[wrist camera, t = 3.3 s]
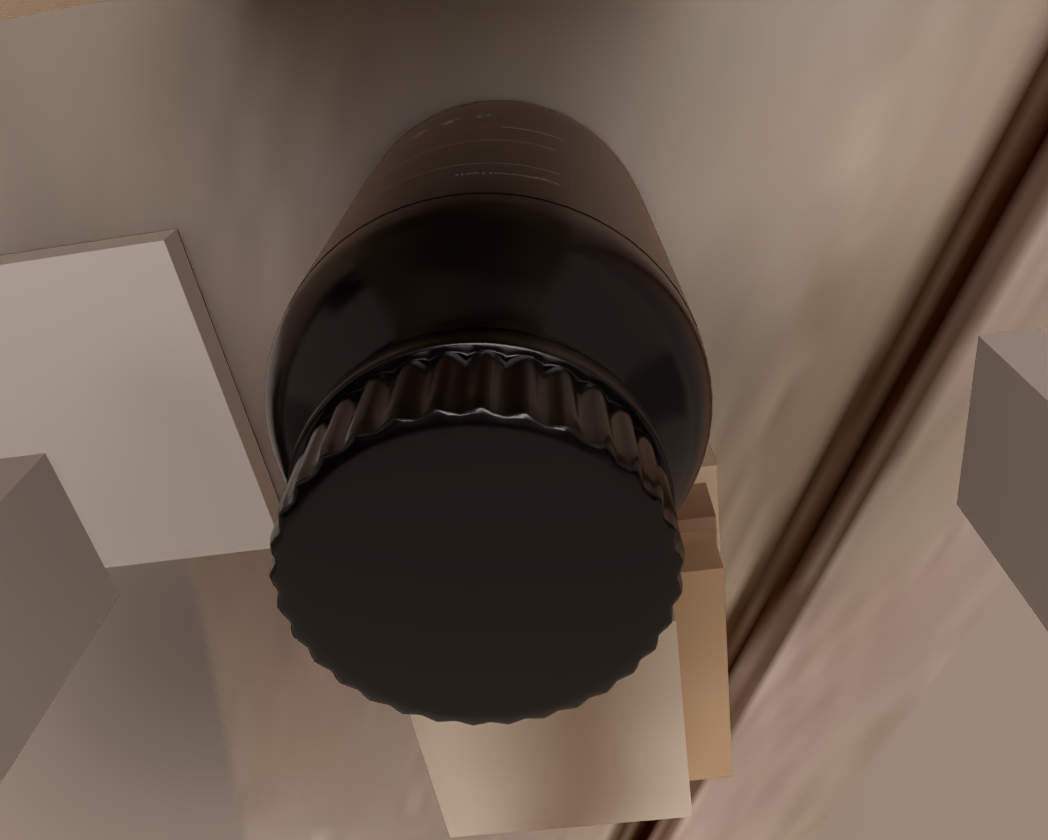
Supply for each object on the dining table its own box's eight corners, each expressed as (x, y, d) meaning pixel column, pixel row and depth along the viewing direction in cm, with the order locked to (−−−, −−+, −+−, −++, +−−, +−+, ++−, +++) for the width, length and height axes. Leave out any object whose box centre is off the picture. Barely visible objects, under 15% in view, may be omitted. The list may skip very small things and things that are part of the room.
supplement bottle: (675, 332, 21) (813, 733, 11) (418, 400, 22) (322, 824, 12) (608, 47, 18) (717, 235, 7) (309, 143, 19) (43, 425, 8)
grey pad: (-3, 563, 25) (-18, 582, 24) (-178, 282, 21) (-201, 295, 20) (289, 529, 24) (282, 547, 24) (176, 228, 20) (163, 240, 19)
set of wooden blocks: (443, 695, 28) (378, 1286, 16) (203, -121, 16) (-726, -203, 4) (717, 667, 27) (865, 1266, 15) (674, -209, 15) (1173, -616, 3)
